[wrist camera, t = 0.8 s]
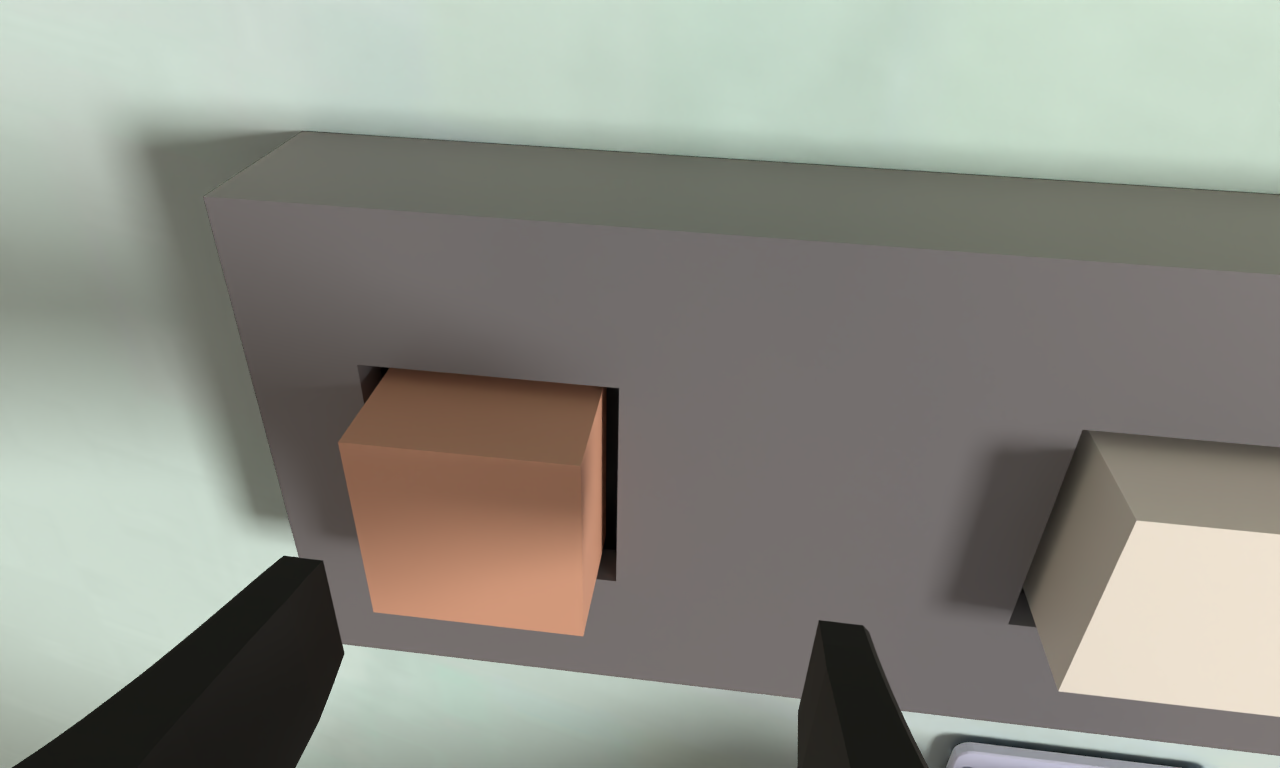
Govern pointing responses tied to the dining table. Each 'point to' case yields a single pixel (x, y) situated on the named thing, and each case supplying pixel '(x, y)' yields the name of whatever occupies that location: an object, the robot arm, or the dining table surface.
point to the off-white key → (1163, 573)
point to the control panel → (765, 388)
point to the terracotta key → (480, 498)
